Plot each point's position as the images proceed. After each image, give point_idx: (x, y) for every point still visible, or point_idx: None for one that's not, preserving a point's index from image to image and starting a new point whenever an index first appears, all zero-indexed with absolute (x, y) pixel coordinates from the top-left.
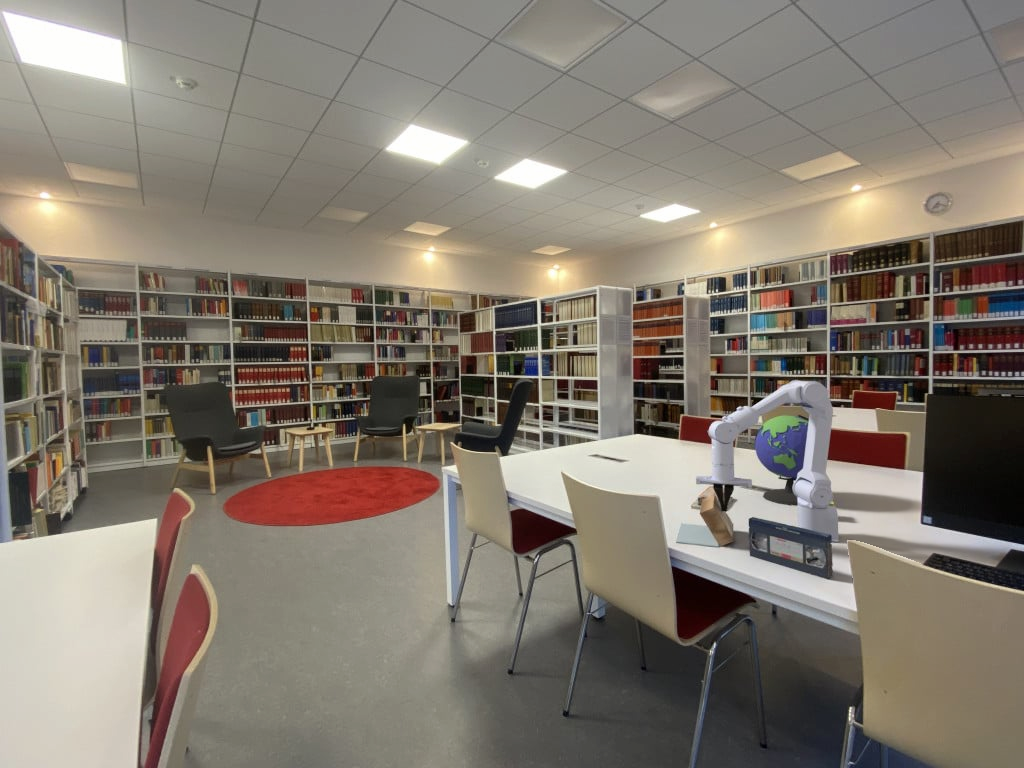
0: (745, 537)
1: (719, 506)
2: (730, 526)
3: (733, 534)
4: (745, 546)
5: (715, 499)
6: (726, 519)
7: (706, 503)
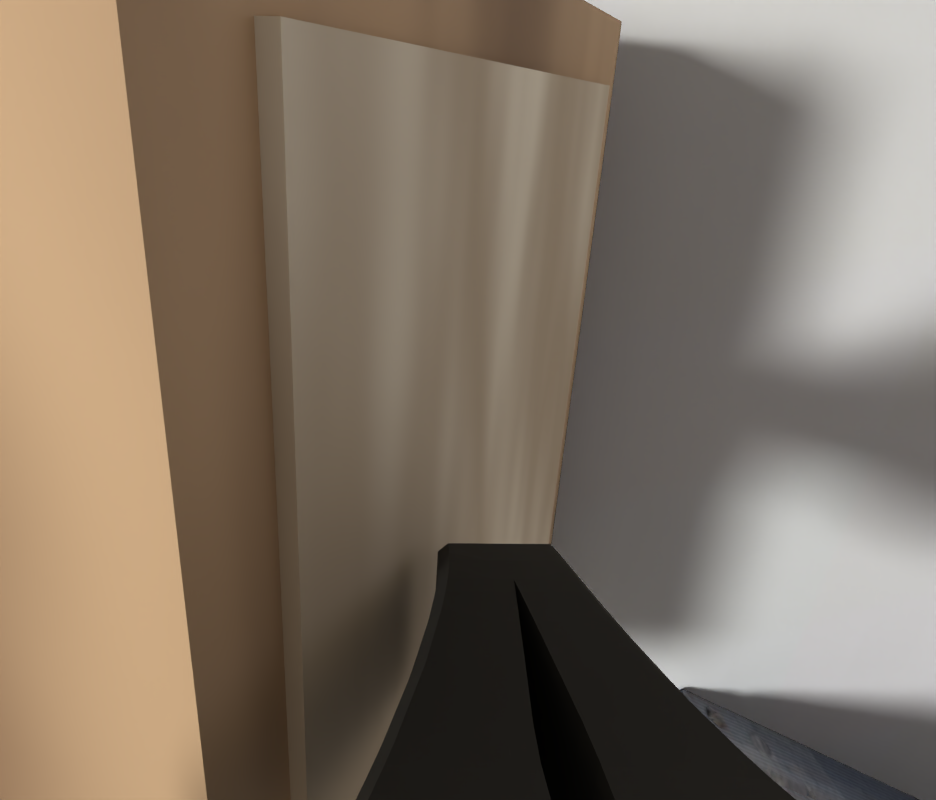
0: (698, 295)
1: (391, 523)
2: (547, 469)
3: (557, 493)
4: (638, 559)
5: (243, 441)
6: (508, 494)
7: (12, 688)
